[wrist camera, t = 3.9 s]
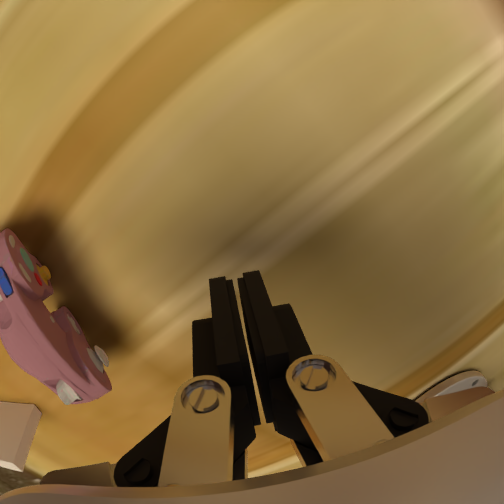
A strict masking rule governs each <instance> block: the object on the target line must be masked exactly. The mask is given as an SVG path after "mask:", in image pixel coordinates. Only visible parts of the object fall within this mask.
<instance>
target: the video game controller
mask: <svg viewBox="0 0 504 504" xmlns="http://www.w3.org/2000/svg"><path fill="white" fill-rule="evenodd" d="M50 278H51V274H50V271H49V270H48V268H47V267H46V266H42V265H41V264H40V262H39V261H38V260H37V259H36V257H34V256H33V255H31V254H30V253H29V252H28V251H27V250H26V248H25V247H24V246H23V244H22V243H21V241H20V240H19V239H18V237H17V236H16V235H15V233H14V232H13V231H11V230H10V229H9V228H6V229H5V230H3V231H2V232H0V337H1V340H2V343H3V345H4V347H5V349H6V350H7V352H8V354H9V355H10V357H11V359H12V360H13V361H14V362H15V363H16V364H17V365H18V366H19V367H20V368H21V369H23V370H24V371H25V372H27V373H28V374H30V375H32V376H33V377H35V378H37V379H38V380H39V381H40V382H41V383H43V384H44V385H46V386H47V387H49V388H50V389H51V390H52V391H53V392H55V393H56V394H57V395H58V396H59V397H60V399H61V400H62V401H63V402H64V404H66V405H69V404H79V403H86V402H90V401H93V400H95V399H98V398H100V397H101V396H103V395H104V394H106V393H108V392H109V391H111V390H112V386H111V383H110V380H109V378H108V376H107V374H106V372H105V370H104V368H103V363H104V364H105V366H107V367H108V366H109V361H108V357H107V355H106V353H105V352H104V350H103V349H101V348H100V347H98V346H96V345H95V346H94V349H95V351H96V352H95V351H93V350H92V349H91V348H90V346H89V344H88V342H87V340H86V338H85V336H84V334H83V331H82V329H81V327H80V326H79V324H78V322H77V321H76V319H75V318H74V316H73V315H72V313H71V312H70V311H69V309H68V308H67V307H65V306H63V307H61V308H59V309H58V310H56V311H54V312H52V313H50V312H49V311H48V309H47V308H46V306H45V305H44V303H43V300H45V299H46V298H47V297H49V296H50V295H52V294H53V292H54V291H53V287H52V284H51V282H50Z"/></svg>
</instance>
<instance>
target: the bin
mask: <svg viewBox="0 0 504 504" xmlns="http://www.w3.org/2000/svg"><path fill="white" fill-rule="evenodd" d="M41 415H42V413H41V412H40V411H39V409H38V408H37V407H36V406H35V404H23V403H11V402H1V401H0V466H1V467H4V468H8V469H12V470H16V471H21V472H23V469H24V466H25V462H26V459H27V456H28V453H29V450H30V446H31V443H32V440H33V437H34V434H35V432H36V429H37V426H38V423H39V420H40V418H41Z"/></svg>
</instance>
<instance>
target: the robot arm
mask: <svg viewBox="0 0 504 504" xmlns="http://www.w3.org/2000/svg"><path fill="white" fill-rule="evenodd" d="M237 280H238V286H239V292H240V299H241V305H242V311H243V317H244V323H245V328H246V334H247V340H248V345H249V350H250V354H251V359H252V363H253V368H254V372H255V376H256V381H257V385H258V389H259V394H260V398H261V402H262V407H263V411H264V415H265V419H266V423H271V422H273V424H274V427H275V431H277V432H278V433H279V434H281V435H284V436H286V437H288V438H290V441H291V444H292V446H293V448H294V450H295V452H296V454H297V456H298V458H299V460H300V462H301V464H302V466H303V467H302V468H298V469H293V470H289V471H284V472H280V473H275V474H270V475H265V476H259V477H254V478H248V452H247V447H248V446H249V445H250V444H251V442H252V441H253V440H254V439H255V438H256V433H255V428H254V426H256V425H261V422H260V417H259V411H258V406H257V401H256V395H255V390H254V385H253V379H252V374H251V368H250V363H249V358H248V353H247V348H246V343H245V339H244V334H243V329H242V325H241V320H240V315H239V310H238V305H237V300H236V296H235V291H234V286H233V281H232V279H231V280H226V278H225V276H224V277H218V278H212V279H209V285H210V297H211V309H212V318H207V319H201V320H195V321H193V322H192V343H193V378H191V379H189V380H187V381H186V382H185V383H183V384H182V385H181V386H180V387H179V389H178V390H177V392H176V395H175V398H174V403H173V408H172V413H171V415H170V416H169V417H168V418H167V419H166V420H165V421H164V422H162V423H161V424H160V425H159V426H158V427H157V428H156V429H154V430H153V431H152V432H151V433H150V434H149V435H147V436H146V437H145V438H144V439H143V440H142V441H141V442H139V443H138V444H137V445H136V446H135V447H133V448H132V449H131V450H130V451H129V452H128V453H126V454H125V455H124V456H123V457H122V458H121V459H120V460H119V461H118V462H117V463H116V464H110V463H109V462H104V463H99V464H93V465H88V466H82V467H75V468H68V469H61V470H54V471H51V472H48V473H47V474H46V475H45V476H43V478H42V480H41V482H40V485H33V486H27V487H22V488H18V489H15V490H12V491H9V492H7V493H5V494H3V495H1V496H0V504H504V390H501V391H498V392H494V391H493V390H491V389H490V388H487V380H486V379H485V377H484V376H483V375H482V374H481V373H480V372H479V371H466V372H463V373H460V374H457V375H455V376H453V377H450V378H448V379H447V380H445V381H443V382H441V383H439V384H438V385H436V386H435V387H433V388H432V389H430V390H429V391H427V392H426V393H425V394H423V395H422V396H421V397H419V398H418V399H417V400H416V401H413V400H411V399H408V398H404V397H401V396H397V395H394V394H391V393H387V392H384V391H381V390H378V389H374V388H371V387H368V386H365V385H362V384H359V383H356V382H353V381H351V380H350V378H349V377H348V376H347V374H346V373H345V372H344V370H343V369H342V368H341V366H340V365H339V364H338V363H337V362H336V361H335V360H333V359H331V358H329V357H327V356H323V355H313V354H312V352H311V350H310V348H309V345H308V343H307V341H306V339H305V336H304V334H303V332H302V329H301V327H300V325H299V323H298V320H297V318H296V316H295V314H294V311H293V309H292V307H291V305H290V304H289V303H288V304H283V305H278V306H273V307H272V305H271V302H270V299H269V296H268V294H267V291H266V288H265V285H264V282H263V280H262V277H261V274H260V272H259V270H258V271H252V272H246V273H243V278H237Z"/></svg>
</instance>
